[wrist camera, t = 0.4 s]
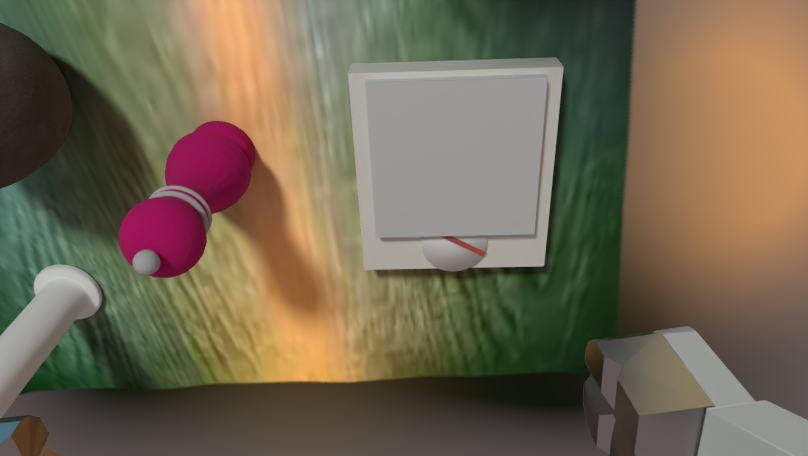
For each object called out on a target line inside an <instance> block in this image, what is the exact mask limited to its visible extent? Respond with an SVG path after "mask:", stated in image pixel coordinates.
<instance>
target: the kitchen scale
mask: <svg viewBox="0 0 808 456" xmlns="http://www.w3.org/2000/svg"><path fill="white" fill-rule="evenodd" d="M563 68H564V67H563V66H562V64H561V63H560V61H559V60H558V59H557V57H551V58H519V59H487V60H455V61H423V62H391V63H359V64H351V66H350V69H349V72H348V79H349V91H350V103H351V115H352V127H353V139H354V151H355V163H356V175H357V187H358V199H359V211H360V223H361V235H362V247H363V259H364V270H383V269H433V268H439V269H441V270H445V271H461V270H465V269H468V268H482V267H532V266H544V262H545V252H546V241H547V231H548V221H549V211H550V201H551V190H552V180H553V170H554V160H555V149H556V139H557V129H558V119H559V109H560V98H561V88H562V78H563Z"/></svg>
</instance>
